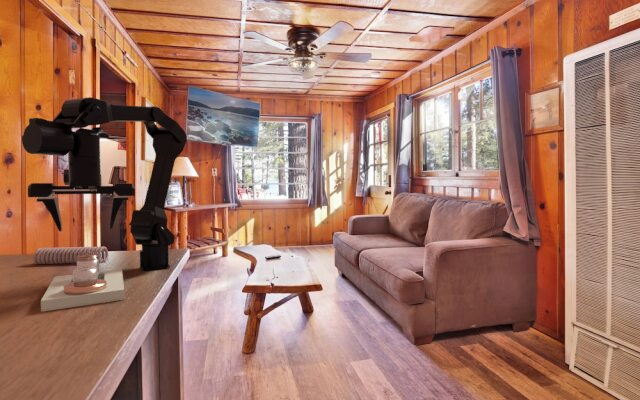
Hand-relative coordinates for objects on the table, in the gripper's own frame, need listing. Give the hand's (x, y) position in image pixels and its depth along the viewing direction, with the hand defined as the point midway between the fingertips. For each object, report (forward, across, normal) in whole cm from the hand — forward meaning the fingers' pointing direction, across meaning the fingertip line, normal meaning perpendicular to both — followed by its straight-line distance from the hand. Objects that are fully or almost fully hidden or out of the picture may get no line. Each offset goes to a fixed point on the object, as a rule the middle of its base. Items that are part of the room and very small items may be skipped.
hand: (86, 229), depth 76 cm
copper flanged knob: (+11, 0, +9) cm, 14 cm away
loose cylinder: (+13, 0, 0) cm, 13 cm away
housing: (+13, 0, +4) cm, 13 cm away
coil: (+13, +5, -29) cm, 33 cm away
